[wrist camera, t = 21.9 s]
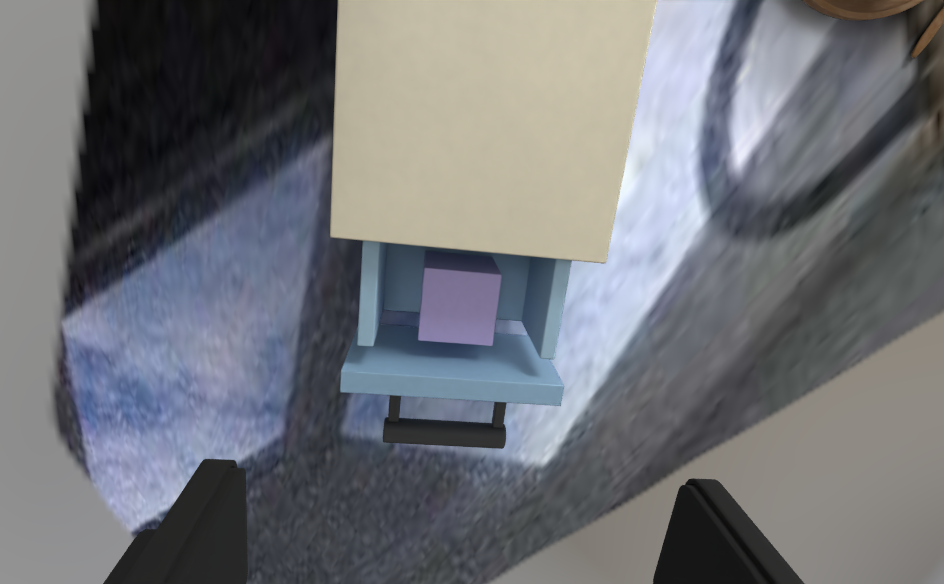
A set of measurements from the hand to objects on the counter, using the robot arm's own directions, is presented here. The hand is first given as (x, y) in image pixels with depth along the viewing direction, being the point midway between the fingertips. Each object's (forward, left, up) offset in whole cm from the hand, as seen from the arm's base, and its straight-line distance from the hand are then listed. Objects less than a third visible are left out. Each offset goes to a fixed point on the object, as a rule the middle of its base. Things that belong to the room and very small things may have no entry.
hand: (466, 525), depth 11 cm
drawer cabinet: (+1, +10, -22) cm, 24 cm away
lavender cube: (+1, -1, -20) cm, 20 cm away
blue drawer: (+1, 0, -21) cm, 21 cm away
